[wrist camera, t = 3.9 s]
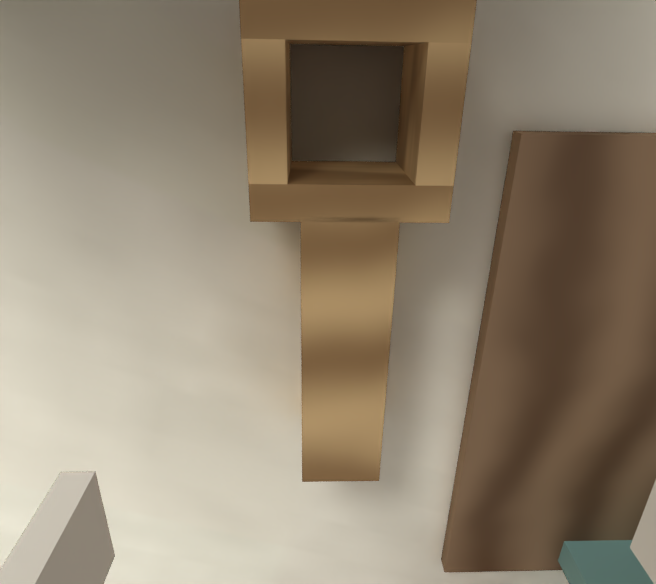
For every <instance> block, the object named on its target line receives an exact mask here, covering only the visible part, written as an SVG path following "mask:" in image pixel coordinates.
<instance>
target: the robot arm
mask: <svg viewBox="0 0 656 584" xmlns="http://www.w3.org/2000/svg"><path fill="white" fill-rule="evenodd" d="M630 549H631V550H632V552H633V553H634V555H635V556H636V558H637V559H638V561H639V562H640V564H641V565H642V567H643V568H644V570H645V571H646V573H647V574H648V576H649V577H650V579H651V580H652V582H653V583H654V584H656V480H655V483H654V485H653V488H652V490H651V493H650V496H649V498H648V501H647V504H646V506H645V509H644V511H643V514H642V517H641V519H640V522H639V524H638V527H637V530H636V532H635V535H634V537H633V540H632V543H631V545H630ZM114 557H115V554H114V550H113V545H112V541H111V537H110V533H109V528H108V524H107V520H106V515H105V511H104V507H103V502H102V498H101V494H100V490H99V485H98V481H97V477H96V472H95V471H86V472H60V474H59V476H58V477H57V479H56V480H55V482H54V484H53V485H52V487H51V488H50V490H49V492H48V493H47V495H46V496H45V498H44V500H43V501H42V503H41V504H40V506H39V508H38V509H37V511H36V512H35V514H34V516H33V517H32V519H31V521H30V522H29V524H28V525H27V527H26V529H25V530H24V532H23V533H22V535H21V537H20V538H19V540H18V541H17V543H16V545H15V546H14V548H13V549H12V551H11V553H10V554H9V556H8V558H7V559H6V561H5V562H4V564H3V566H2V567H1V569H0V584H104V581H105V579H106V576H107V574H108V571H109V569H110V567H111V564H112V562H113V559H114Z"/></svg>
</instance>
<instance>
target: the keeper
mask: <svg viewBox="0 0 656 584" xmlns="http://www.w3.org/2000/svg"><path fill="white" fill-rule="evenodd" d="M631 543H632V540H602V541H564V543H563V546H562V549H561V552H560V556H559V559H558V562H559V564H560V566H561V568H562V570H563V572H564V574H565V576H566V578H567V580H568V582H569V584H654V583H653V582H652V580H651V579H650V577H649V576H648V574H647V573H646V571H645V570H644V568H643V567H642V565H641V564H640V562H639V561H638V559H637V558H636V556H635V555H634V553H633V552H632V550H631V549H630V545H631Z"/></svg>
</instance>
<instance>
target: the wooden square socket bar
mask: <svg viewBox="0 0 656 584" xmlns="http://www.w3.org/2000/svg"><path fill="white" fill-rule="evenodd" d="M476 2H477V0H239V8H240V28H241V47H242V67H243V86H244V105H245V125H246V144H247V164H248V183H249V203H250V222H301V348H302V482H313V481H379V473H380V461H381V449H382V437H383V424H384V412H385V400H386V387H387V375H388V363H389V350H390V338H391V326H392V313H393V301H394V289H395V276H396V264H397V252H398V240H399V227H400V222H401V223H449V219H450V211H451V203H452V194H453V186H454V178H455V170H456V162H457V154H458V146H459V138H460V130H461V122H462V114H463V106H464V98H465V90H466V82H467V74H468V66H469V58H470V50H471V42H472V34H473V26H474V18H475V10H476ZM290 44H315V45H365V46H404V54H403V68H402V81H401V95H400V109H399V122H398V136H397V149H396V162H360V161H292V139H291V67H290Z"/></svg>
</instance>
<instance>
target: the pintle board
mask: <svg viewBox="0 0 656 584" xmlns="http://www.w3.org/2000/svg"><path fill="white" fill-rule="evenodd" d="M655 480H656V133H624V132H550V131H513V136H512V142H511V148H510V154H509V160H508V166H507V172H506V178H505V184H504V190H503V196H502V201H501V207H500V213H499V219H498V225H497V231H496V237H495V243H494V249H493V255H492V261H491V267H490V273H489V279H488V285H487V291H486V297H485V302H484V308H483V314H482V320H481V326H480V332H479V338H478V344H477V350H476V356H475V362H474V368H473V374H472V380H471V386H470V392H469V398H468V403H467V409H466V415H465V421H464V427H463V433H462V439H461V445H460V451H459V457H458V463H457V469H456V475H455V481H454V487H453V493H452V499H451V505H450V510H449V516H448V522H447V528H446V534H445V540H444V546H443V552H442V558H441V560H442V564H443V568H444V572H482V571H533V570H562V568H561V566H560V564H559V562H558V559H559V556H560V552H561V549H562V546H563V543H564V541H602V540H633V537H634V535H635V532H636V530H637V527H638V524H639V522H640V519H641V517H642V514H643V511H644V509H645V506H646V504H647V501H648V498H649V496H650V493H651V490H652V488H653V485H654V483H655Z"/></svg>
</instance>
